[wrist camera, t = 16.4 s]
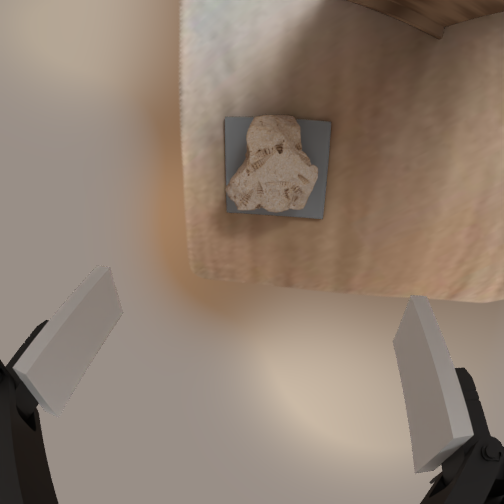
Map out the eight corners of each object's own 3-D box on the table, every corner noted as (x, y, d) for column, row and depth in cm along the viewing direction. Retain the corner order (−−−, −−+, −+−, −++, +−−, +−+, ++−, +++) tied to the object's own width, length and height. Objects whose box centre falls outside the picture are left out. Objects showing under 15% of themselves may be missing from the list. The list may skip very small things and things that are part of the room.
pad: (226, 116, 34) (224, 117, 34) (330, 121, 33) (331, 122, 32) (227, 210, 40) (226, 212, 40) (322, 217, 39) (322, 219, 38)
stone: (226, 189, 38) (217, 203, 34) (262, 102, 32) (257, 105, 28) (293, 217, 39) (293, 235, 35) (335, 135, 33) (341, 143, 29)
